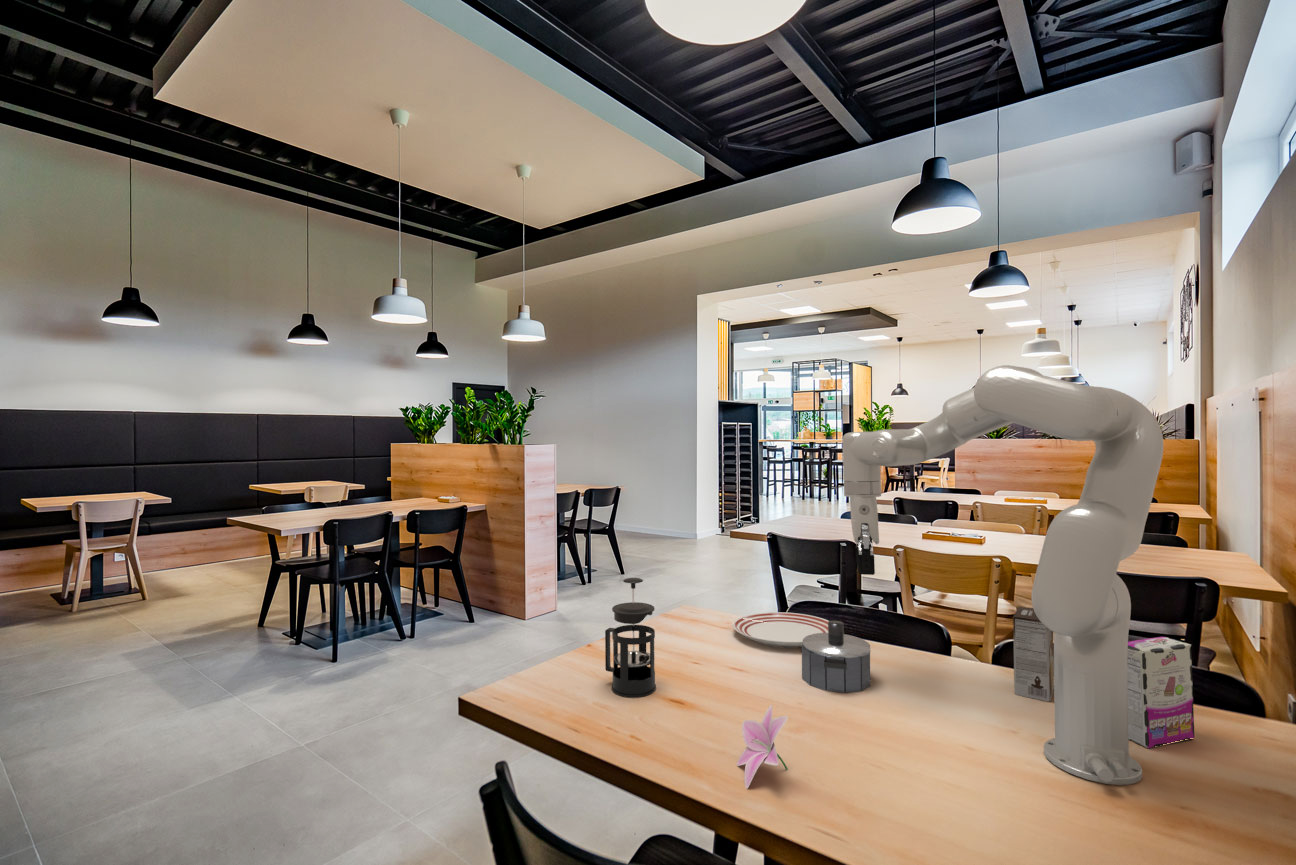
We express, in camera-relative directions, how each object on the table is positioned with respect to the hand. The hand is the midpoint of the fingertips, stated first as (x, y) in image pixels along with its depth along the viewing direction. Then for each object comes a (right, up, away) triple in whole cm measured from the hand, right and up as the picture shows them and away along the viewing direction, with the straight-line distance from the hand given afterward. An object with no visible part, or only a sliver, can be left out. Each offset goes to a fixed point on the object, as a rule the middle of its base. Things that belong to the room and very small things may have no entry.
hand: (865, 569), depth 128 cm
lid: (-6, -18, +2) cm, 19 cm away
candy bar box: (+42, -24, -24) cm, 54 cm away
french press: (-50, -25, -2) cm, 56 cm away
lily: (-28, -24, -34) cm, 51 cm away
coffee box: (+33, -24, -5) cm, 41 cm away
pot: (-6, -24, +2) cm, 25 cm away
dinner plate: (-10, -25, +31) cm, 41 cm away
